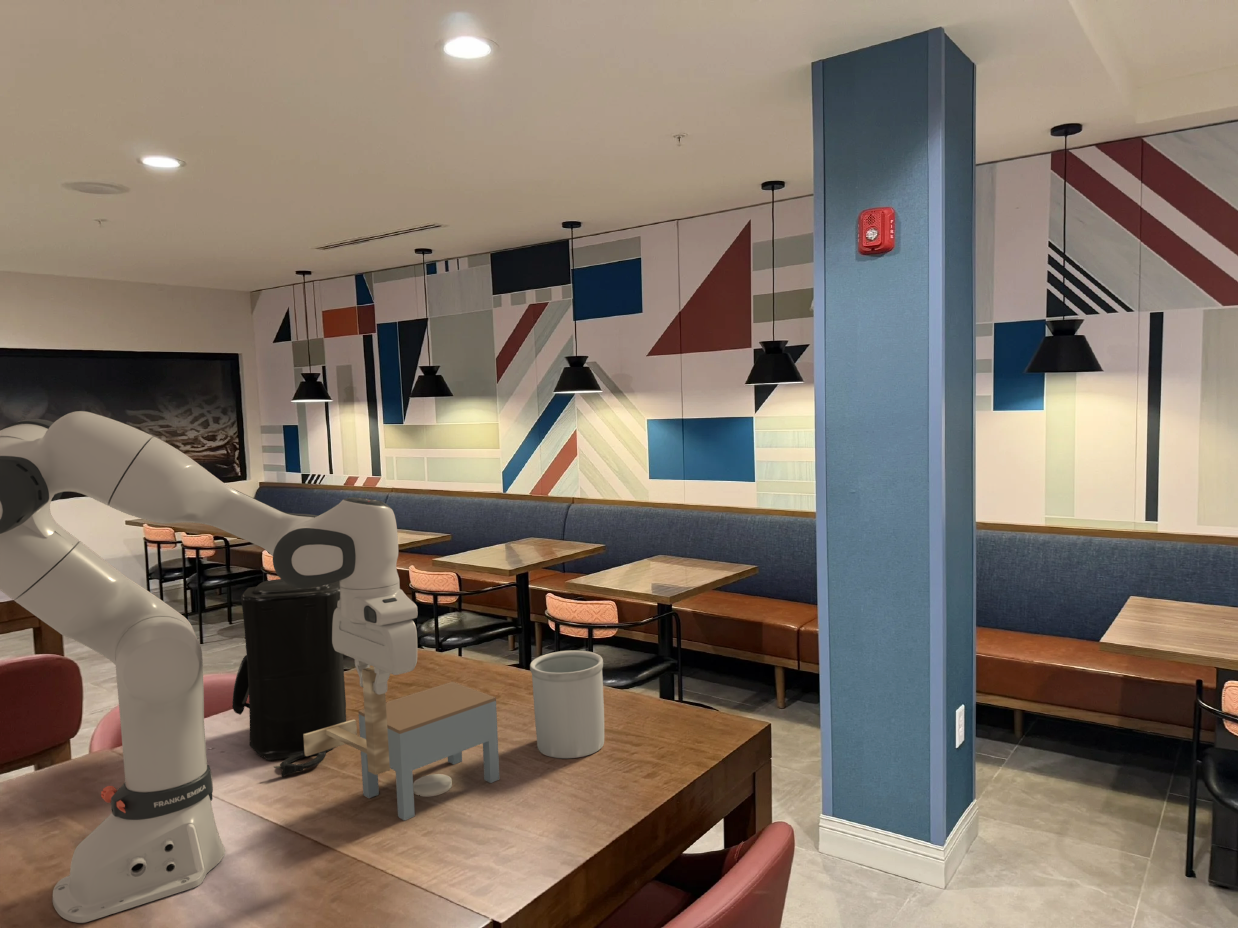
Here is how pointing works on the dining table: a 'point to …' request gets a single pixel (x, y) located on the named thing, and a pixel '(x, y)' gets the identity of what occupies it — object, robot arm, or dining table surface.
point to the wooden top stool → (434, 736)
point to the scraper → (347, 730)
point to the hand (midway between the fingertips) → (373, 689)
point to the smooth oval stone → (432, 785)
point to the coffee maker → (289, 669)
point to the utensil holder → (568, 703)
